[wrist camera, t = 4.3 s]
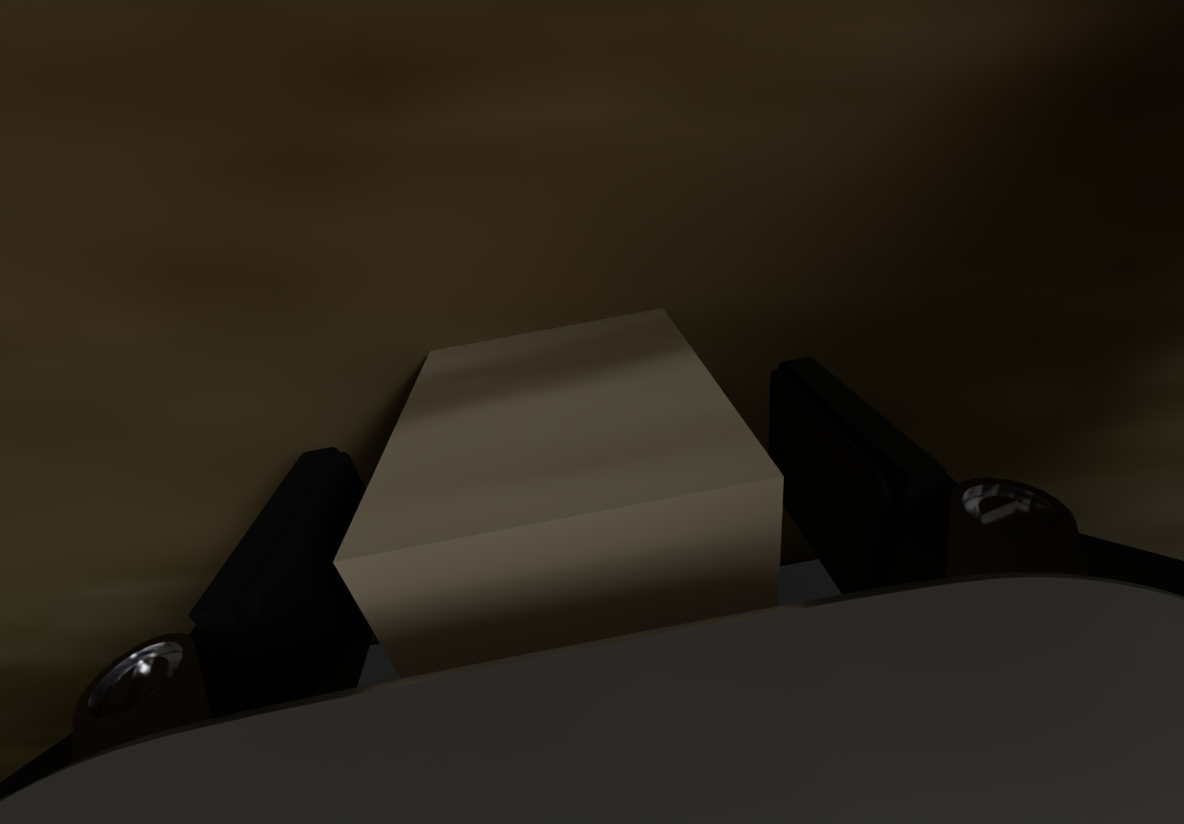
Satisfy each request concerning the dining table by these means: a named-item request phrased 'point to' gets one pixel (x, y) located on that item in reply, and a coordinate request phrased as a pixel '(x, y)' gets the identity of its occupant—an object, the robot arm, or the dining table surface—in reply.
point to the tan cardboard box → (561, 499)
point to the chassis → (793, 587)
